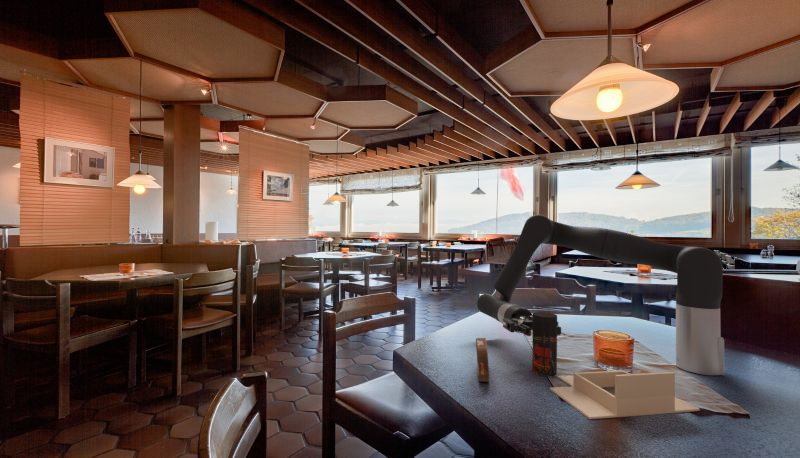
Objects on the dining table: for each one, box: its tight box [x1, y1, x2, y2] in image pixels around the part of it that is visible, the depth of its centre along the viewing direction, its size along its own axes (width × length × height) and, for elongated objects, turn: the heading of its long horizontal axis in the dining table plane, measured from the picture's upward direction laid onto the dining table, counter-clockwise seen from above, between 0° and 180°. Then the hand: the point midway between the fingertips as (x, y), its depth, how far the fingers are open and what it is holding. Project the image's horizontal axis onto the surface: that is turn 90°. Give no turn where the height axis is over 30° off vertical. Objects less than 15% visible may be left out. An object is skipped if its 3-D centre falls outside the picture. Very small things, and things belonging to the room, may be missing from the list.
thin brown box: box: [475, 337, 490, 383], centre depth 89 cm, size 15×3×8 cm, turn 168°
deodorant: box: [531, 311, 558, 378], centre depth 91 cm, size 6×6×15 cm
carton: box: [549, 369, 701, 420], centre depth 79 cm, size 19×25×8 cm
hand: (544, 331), depth 91 cm, fingers open, 8 cm apart
